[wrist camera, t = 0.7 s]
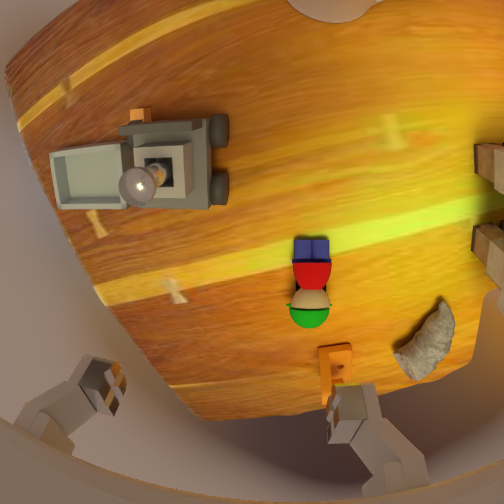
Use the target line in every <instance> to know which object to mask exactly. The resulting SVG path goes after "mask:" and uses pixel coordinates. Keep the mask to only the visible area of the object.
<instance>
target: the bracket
mask: <svg viewBox="0 0 504 504" xmlns="http://www.w3.org/2000/svg"><path fill="white" fill-rule="evenodd" d="M318 353H319V364H320V376H321V389H322V402H323V405H327V400H328V397H329V396H330V395H331V388H332V385H333V384H344V380H349V379H350V378H351V377H352V350H351V345H349V344H344V345H337V346H330V347H323V348H318Z"/></svg>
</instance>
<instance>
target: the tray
mask: <svg viewBox="0 0 504 504" xmlns="http://www.w3.org/2000/svg"><path fill="white" fill-rule="evenodd" d="M49 157H50V165H51V172H52V178H53V185H54V190H55V196H56V201H57V207H58V209H128V208H129V207H130V206H131V205H129V204H128V203H126V202H125V201H124V200H123V198H122V197H121V195H120V192H119V187H118V185H119V180H120V177H121V176H122V174H123V173H124V172H125V171H127V170H129V169H131V168H133V167H135V164H134V151H133V150H131V149H130V148H129V146H128V144H127V140H121V141H111V142H102V143H94V144H86V145H79V146H72V147H66V148H62V149H59V150H56V151H53V152H50V153H49Z"/></svg>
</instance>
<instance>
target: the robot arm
mask: <svg viewBox="0 0 504 504" xmlns="http://www.w3.org/2000/svg"><path fill="white" fill-rule="evenodd" d="M287 1H288V2H289V3H290V4H291V5H292V6H293V7H294V8H295V9H296V10H298V11H299V12H300V13H302V14H304V15H306V16H308V17H310V18H312V19H315V20H318V21H322V22H328V23H344V22H349V21H352V20H355V19H357V18H359V17H361V16H362V15H363V14H365V13H366V12H367V10H368V9H369V8H370V7H371V6H372V5H374V4H378V3H380V2H383V1H384V0H287ZM120 369H121V367H120V365H119V363H118V362H115V361H111V360H106V359H102V358H99V357H95V356H91V355H87V354H86V355H84V356H83V357H82V359H81V361H80V362H79V364H78V365H77V367H76V368H75V370H74V372H73V373H72V375H71V376H70V378H69V380H68V381H67V382H66V381H64V382H62V383H60V384H59V385H57V386H55V387H53V388H52V389H50V390H48V391H46V392H45V393H43V394H41V395H39V396H38V397H36V398H34V399H33V400H31V401H29V402H27V403H26V404H25V405H24V407H23V409H22V410H21V412H20V414H19V415H18V417H17V419H16V420H15V422H14V424H13V425H12V424H11V423H9V422H7V421H6V420H4V419H3V418H1V417H0V504H504V460H500V461H497V462H495V463H492V464H490V465H487V466H485V467H482V468H480V469H477V470H474V471H472V472H469V473H466V474H463V475H460V476H457V477H454V478H451V479H448V480H445V481H442V482H438V483H434V484H431V485H429V479H428V474H427V469H426V464H425V459H424V455H423V454H422V453H421V452H420V451H419V450H418V449H417V448H416V447H415V446H413V445H412V444H411V443H410V442H409V441H408V440H407V439H406V438H405V437H404V436H403V435H402V434H401V433H400V432H399V431H398V430H397V429H396V428H395V427H394V426H393V425H392V424H391V423H390V422H389V421H388V420H387V419H386V418H382V416H381V411H380V407H379V402H378V397H377V393H376V388H375V385H374V383H372V382H371V383H344V384H333V385H332V388H331V395H330V396H329V397H328V400H327V405H326V419H327V420H328V421H329V422H330V423H329V426H328V428H327V435H328V444H332V443H350V445H351V447H352V448H353V449H354V451H355V452H356V453H357V455H358V456H359V457H360V459H361V460H362V461H363V462H364V464H365V465H366V466H367V468H368V469H369V470H370V472H371V473H372V474H373V477H372V478H371V479H370V480H368V481H367V483H365V484H364V485H363V486H362V495H363V498H358V499H348V500H339V501H323V502H266V501H265V502H264V501H250V500H240V499H239V500H238V499H230V498H222V497H214V496H208V495H202V494H196V493H191V492H186V491H181V490H176V489H172V488H167V487H163V486H159V485H155V484H151V483H147V482H144V481H140V480H137V479H133V478H130V477H127V476H124V475H121V474H118V473H115V472H112V471H109V470H106V469H104V468H101V467H98V466H96V465H93V464H91V463H88V462H86V461H83V460H81V459H79V458H76V457H74V456H72V452H73V450H74V448H75V445H74V443H73V442H72V441H71V440H70V439H69V438H68V437H67V436H69V435H70V434H71V433H73V432H74V431H75V430H76V429H77V428H79V427H80V426H81V425H83V424H84V423H85V422H86V421H88V420H89V419H90V418H91V417H93V416H94V415H95V414H96V413H97V412H99V413H102V414H106V415H110V416H113V417H114V416H115V413H116V411H117V409H118V407H119V401H118V399H119V398H121V397H123V395H124V393H125V391H126V385H127V384H126V378H125V375H124V374H122V373H121V372H120Z"/></svg>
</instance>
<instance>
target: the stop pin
mask: <svg viewBox="0 0 504 504" xmlns="http://www.w3.org/2000/svg"><path fill="white" fill-rule="evenodd" d="M172 176H173V163H172V157H165V158H162V159H160V160H158V161H156V162H154V163H152V164H150V165H149V166H147V167H145V168H143V167H133V168H131V169H129V170H127V171H125V172H124V173H123V174H122V176H121V177H120V180H119V185H118V187H119V192H120V195H121V197H122V198H123V200H124V201H125V202H126V203H128V204H129V205H131V206H135V207H141V206H144V205H146V204H147V203H148V202H150V201H151V200H152V199H153V198H154V196H155V194H156V190H157V188H158V187H159V186H160V185H162V184H163V183H164V182H166V181H167V180H168V179H170V178H171V177H172Z"/></svg>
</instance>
